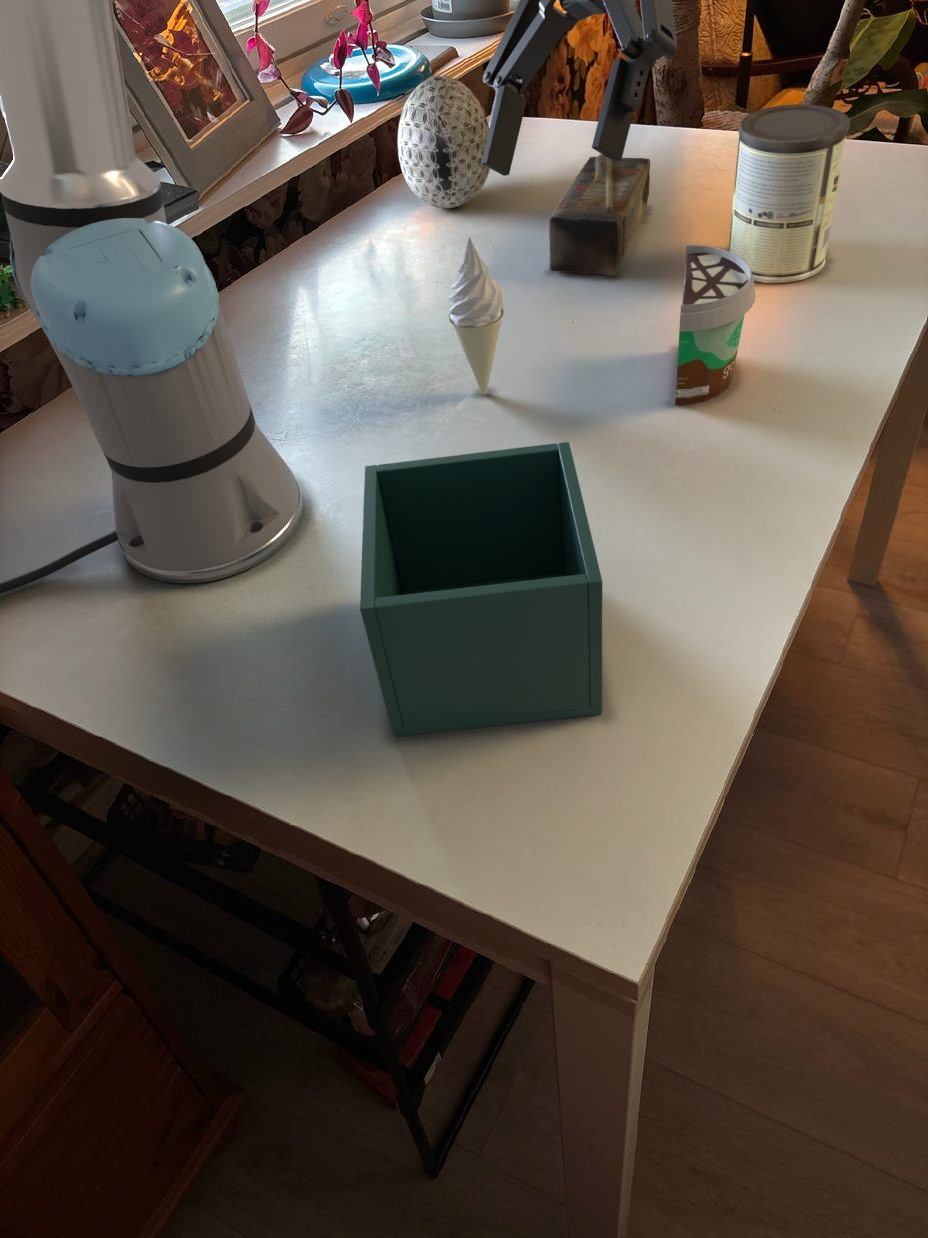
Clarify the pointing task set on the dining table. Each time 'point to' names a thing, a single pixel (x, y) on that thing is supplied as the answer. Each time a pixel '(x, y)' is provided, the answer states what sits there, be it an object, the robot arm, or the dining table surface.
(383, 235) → the dining table surface
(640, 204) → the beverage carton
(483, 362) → the ice cream cone
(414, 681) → the waste bin
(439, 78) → the decorative egg
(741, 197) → the coffee can
